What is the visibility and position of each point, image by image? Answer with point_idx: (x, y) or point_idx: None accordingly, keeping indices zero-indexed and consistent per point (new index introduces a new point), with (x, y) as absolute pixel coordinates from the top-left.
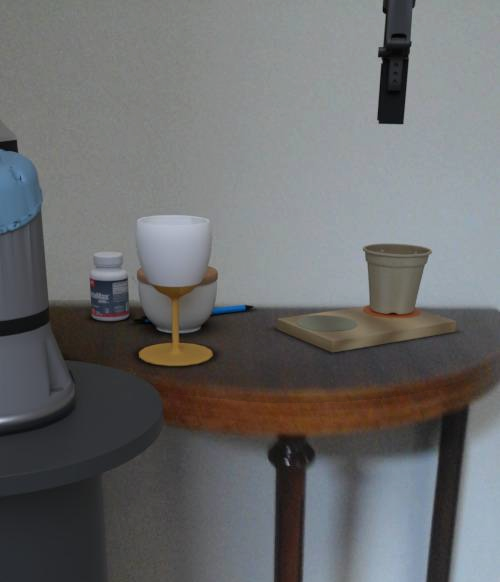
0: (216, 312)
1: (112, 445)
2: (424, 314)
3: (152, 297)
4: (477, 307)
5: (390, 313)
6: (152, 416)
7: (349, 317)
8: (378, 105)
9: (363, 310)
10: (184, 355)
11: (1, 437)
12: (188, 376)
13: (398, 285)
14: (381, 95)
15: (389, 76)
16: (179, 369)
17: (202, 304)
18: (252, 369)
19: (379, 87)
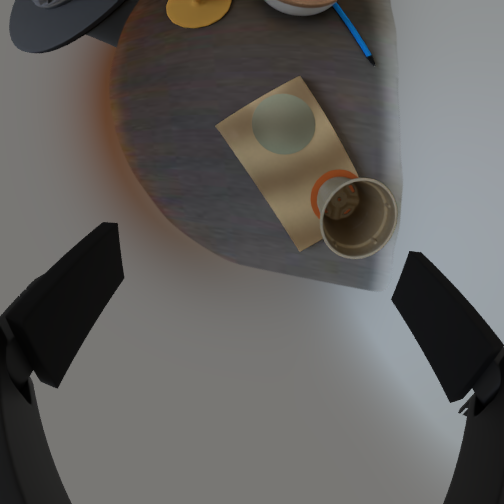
0: (349, 29)
1: (25, 47)
2: None
3: None
4: (378, 280)
5: None
6: (51, 44)
7: (310, 150)
8: (427, 270)
9: (339, 169)
10: (190, 9)
11: None
12: (142, 25)
13: (320, 207)
14: (67, 254)
15: (22, 296)
16: (159, 14)
17: (268, 2)
18: (162, 63)
19: (455, 298)
